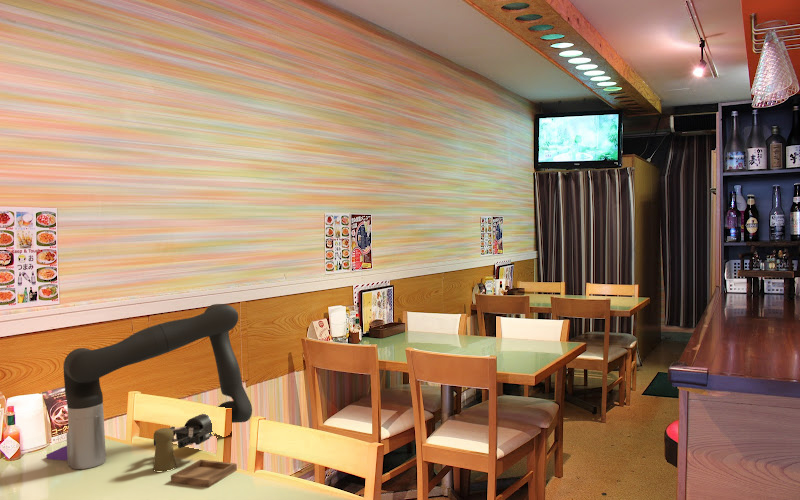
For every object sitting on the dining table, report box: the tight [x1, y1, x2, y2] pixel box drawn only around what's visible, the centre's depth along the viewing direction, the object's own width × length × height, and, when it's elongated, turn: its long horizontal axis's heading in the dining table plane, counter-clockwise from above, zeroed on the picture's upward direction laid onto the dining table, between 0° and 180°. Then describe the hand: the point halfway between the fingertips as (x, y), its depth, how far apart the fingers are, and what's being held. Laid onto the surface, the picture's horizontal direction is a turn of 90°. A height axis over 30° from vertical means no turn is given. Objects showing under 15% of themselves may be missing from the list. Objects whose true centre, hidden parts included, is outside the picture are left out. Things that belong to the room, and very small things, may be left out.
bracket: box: [46, 445, 68, 461], centre depth 188 cm, size 12×7×7 cm, turn 73°
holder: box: [170, 459, 238, 488], centre depth 168 cm, size 12×12×2 cm
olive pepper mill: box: [153, 427, 177, 472], centre depth 175 cm, size 6×6×11 cm
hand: (166, 443), depth 176 cm, fingers open, 8 cm apart
